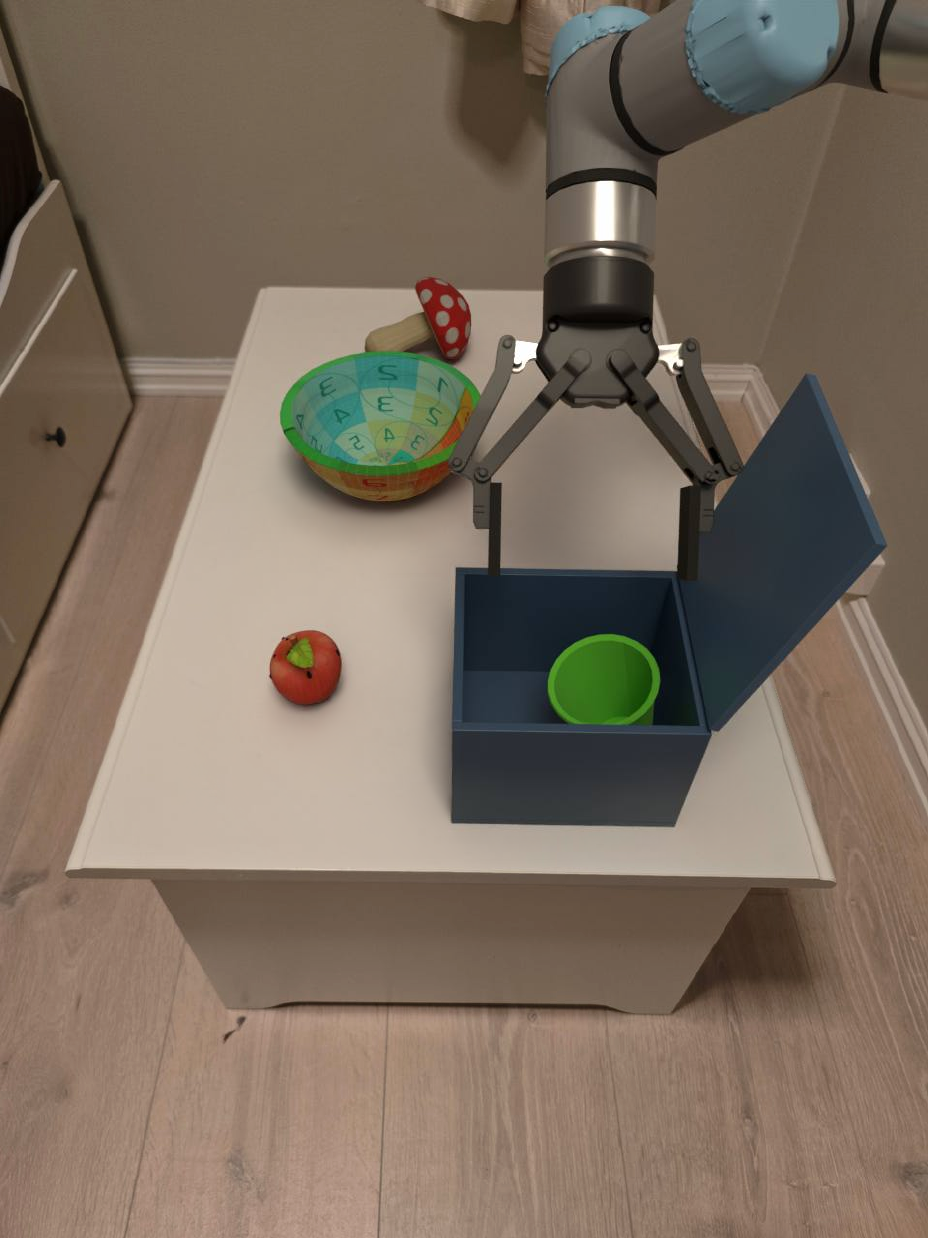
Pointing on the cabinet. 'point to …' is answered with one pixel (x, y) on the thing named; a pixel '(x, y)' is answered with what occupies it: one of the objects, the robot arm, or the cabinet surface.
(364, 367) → the bowl
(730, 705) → the lid
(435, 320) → the decorative mushroom
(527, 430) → the robot arm
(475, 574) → the box
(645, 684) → the cup
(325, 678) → the apple
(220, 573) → the cabinet surface
